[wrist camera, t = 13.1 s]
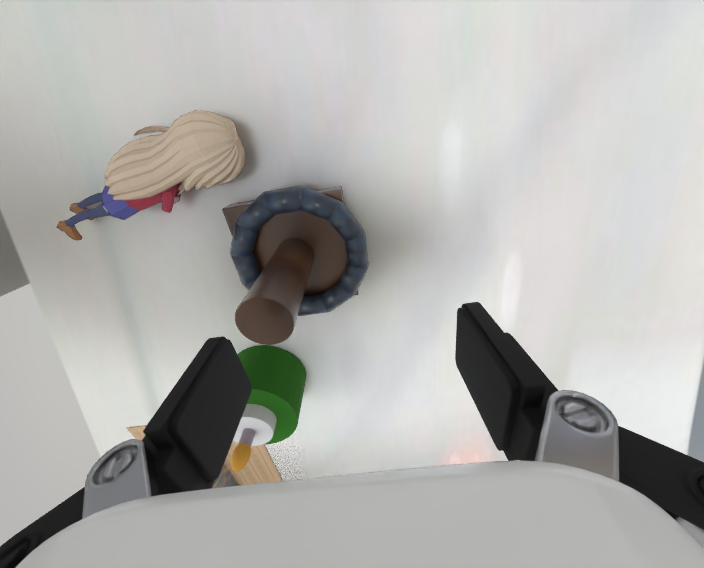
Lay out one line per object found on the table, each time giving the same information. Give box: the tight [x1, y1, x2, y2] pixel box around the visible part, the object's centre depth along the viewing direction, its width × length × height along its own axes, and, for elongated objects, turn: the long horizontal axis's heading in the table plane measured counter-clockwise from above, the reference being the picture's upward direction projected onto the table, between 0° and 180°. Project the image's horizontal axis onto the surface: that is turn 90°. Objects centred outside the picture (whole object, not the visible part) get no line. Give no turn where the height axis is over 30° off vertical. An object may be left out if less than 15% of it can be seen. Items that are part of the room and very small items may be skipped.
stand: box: [222, 186, 358, 345], centre depth 18 cm, size 9×9×10 cm
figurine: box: [57, 110, 245, 240], centre depth 18 cm, size 6×4×15 cm
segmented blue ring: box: [230, 186, 369, 316], centre depth 21 cm, size 10×10×2 cm
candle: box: [231, 346, 306, 472], centre depth 25 cm, size 8×8×10 cm
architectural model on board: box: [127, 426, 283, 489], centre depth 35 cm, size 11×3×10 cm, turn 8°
